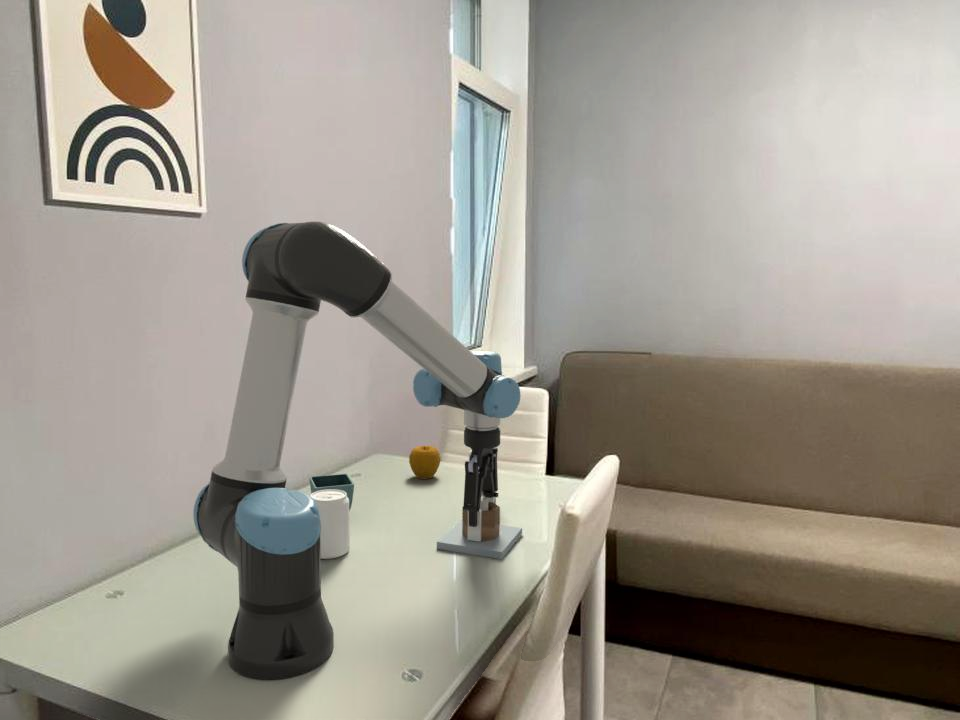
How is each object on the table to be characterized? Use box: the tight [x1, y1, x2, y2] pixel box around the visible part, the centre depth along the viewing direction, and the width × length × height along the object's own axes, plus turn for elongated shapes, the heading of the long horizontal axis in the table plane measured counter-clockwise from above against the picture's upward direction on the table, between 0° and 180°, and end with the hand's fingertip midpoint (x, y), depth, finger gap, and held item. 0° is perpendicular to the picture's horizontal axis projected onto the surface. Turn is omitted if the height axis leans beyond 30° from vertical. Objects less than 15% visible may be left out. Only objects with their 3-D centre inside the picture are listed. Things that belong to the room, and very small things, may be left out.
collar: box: [461, 502, 501, 542], centre depth 148 cm, size 7×7×6 cm
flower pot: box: [309, 473, 355, 512], centre depth 160 cm, size 9×9×9 cm
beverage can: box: [309, 489, 351, 560], centre depth 141 cm, size 8×8×12 cm
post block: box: [436, 498, 523, 560], centre depth 148 cm, size 14×14×9 cm
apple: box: [408, 445, 441, 480], centre depth 193 cm, size 9×8×9 cm
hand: (480, 533), depth 148 cm, fingers closed on collar, 7 cm apart
